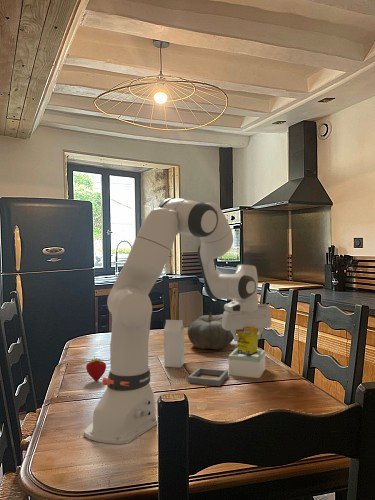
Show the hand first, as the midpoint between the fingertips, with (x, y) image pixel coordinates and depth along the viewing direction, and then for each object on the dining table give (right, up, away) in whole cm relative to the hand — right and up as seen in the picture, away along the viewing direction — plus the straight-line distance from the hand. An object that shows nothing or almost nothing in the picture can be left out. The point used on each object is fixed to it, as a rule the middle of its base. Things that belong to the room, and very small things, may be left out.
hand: (247, 339), depth 158 cm
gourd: (-11, -13, +40) cm, 43 cm away
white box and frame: (-8, -13, -4) cm, 15 cm away
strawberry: (-58, -14, -8) cm, 60 cm away
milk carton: (-29, -13, +11) cm, 34 cm away
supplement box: (0, -6, 0) cm, 6 cm away
